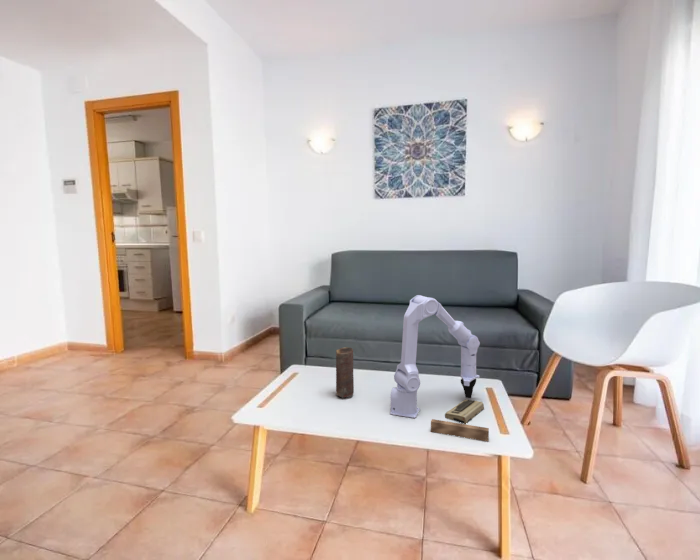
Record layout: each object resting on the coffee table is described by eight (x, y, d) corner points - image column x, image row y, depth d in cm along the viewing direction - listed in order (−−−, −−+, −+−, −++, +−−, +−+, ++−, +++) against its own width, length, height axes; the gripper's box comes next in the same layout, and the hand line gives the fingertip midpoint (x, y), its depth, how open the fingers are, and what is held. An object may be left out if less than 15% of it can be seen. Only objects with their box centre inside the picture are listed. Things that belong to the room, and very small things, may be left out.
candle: (357, 396, 155) (356, 349, 153) (343, 401, 151) (342, 352, 149) (346, 391, 161) (345, 345, 159) (332, 395, 157) (331, 348, 155)
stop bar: (430, 431, 125) (430, 421, 124) (432, 428, 127) (431, 419, 126) (488, 441, 118) (488, 431, 117) (488, 438, 119) (488, 428, 119)
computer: (463, 404, 146) (464, 396, 146) (484, 410, 141) (484, 401, 140) (444, 418, 135) (444, 410, 134) (465, 425, 129) (465, 416, 129)
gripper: (477, 370, 139) (477, 406, 140) (480, 359, 152) (480, 391, 153) (458, 368, 142) (458, 403, 143) (462, 357, 155) (462, 389, 156)
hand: (468, 397), depth 148 cm, fingers closed
